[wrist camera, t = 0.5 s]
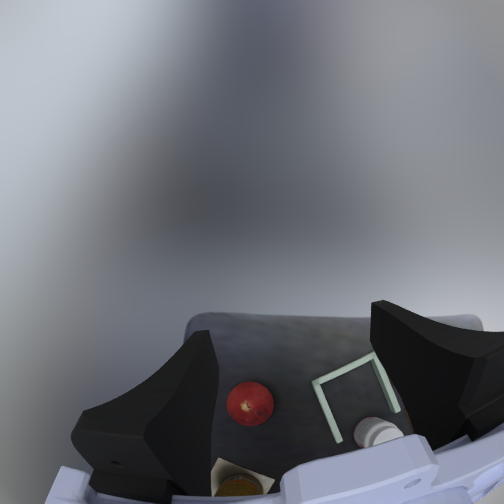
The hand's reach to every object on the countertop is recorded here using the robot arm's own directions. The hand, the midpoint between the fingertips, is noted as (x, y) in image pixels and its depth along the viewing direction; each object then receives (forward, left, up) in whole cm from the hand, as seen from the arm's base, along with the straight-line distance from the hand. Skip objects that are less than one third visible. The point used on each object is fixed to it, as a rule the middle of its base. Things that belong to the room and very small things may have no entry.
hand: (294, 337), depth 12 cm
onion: (-3, +6, -29) cm, 29 cm away
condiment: (-15, +13, -29) cm, 35 cm away
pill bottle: (-14, -7, -29) cm, 33 cm away
